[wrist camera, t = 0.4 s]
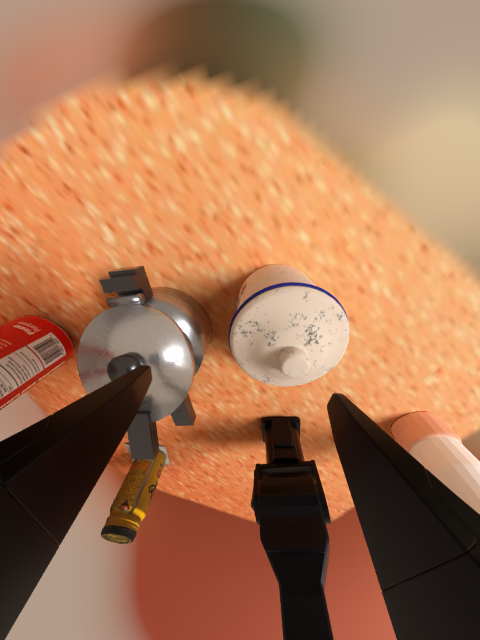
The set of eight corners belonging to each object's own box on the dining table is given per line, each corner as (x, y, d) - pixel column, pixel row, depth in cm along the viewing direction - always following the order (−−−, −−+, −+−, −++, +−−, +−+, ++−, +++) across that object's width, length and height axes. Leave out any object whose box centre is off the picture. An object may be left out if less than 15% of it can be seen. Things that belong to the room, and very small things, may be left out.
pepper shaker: (444, 430, 30) (689, 689, 13) (397, 443, 33) (556, 679, 16) (435, 405, 28) (721, 684, 11) (384, 420, 30) (557, 672, 13)
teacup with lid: (227, 272, 21) (203, 318, 10) (310, 251, 19) (381, 281, 9) (251, 356, 26) (250, 443, 15) (318, 344, 24) (367, 433, 14)
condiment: (170, 464, 41) (141, 548, 30) (133, 460, 41) (91, 543, 30) (165, 445, 37) (131, 532, 27) (125, 441, 38) (75, 527, 27)
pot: (226, 396, 30) (221, 432, 25) (162, 399, 31) (144, 433, 26) (195, 255, 20) (175, 265, 15) (103, 266, 21) (54, 280, 16)
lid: (204, 448, 18) (197, 468, 15) (99, 448, 19) (78, 468, 17) (187, 289, 16) (175, 286, 14) (75, 300, 18) (49, 300, 15)
